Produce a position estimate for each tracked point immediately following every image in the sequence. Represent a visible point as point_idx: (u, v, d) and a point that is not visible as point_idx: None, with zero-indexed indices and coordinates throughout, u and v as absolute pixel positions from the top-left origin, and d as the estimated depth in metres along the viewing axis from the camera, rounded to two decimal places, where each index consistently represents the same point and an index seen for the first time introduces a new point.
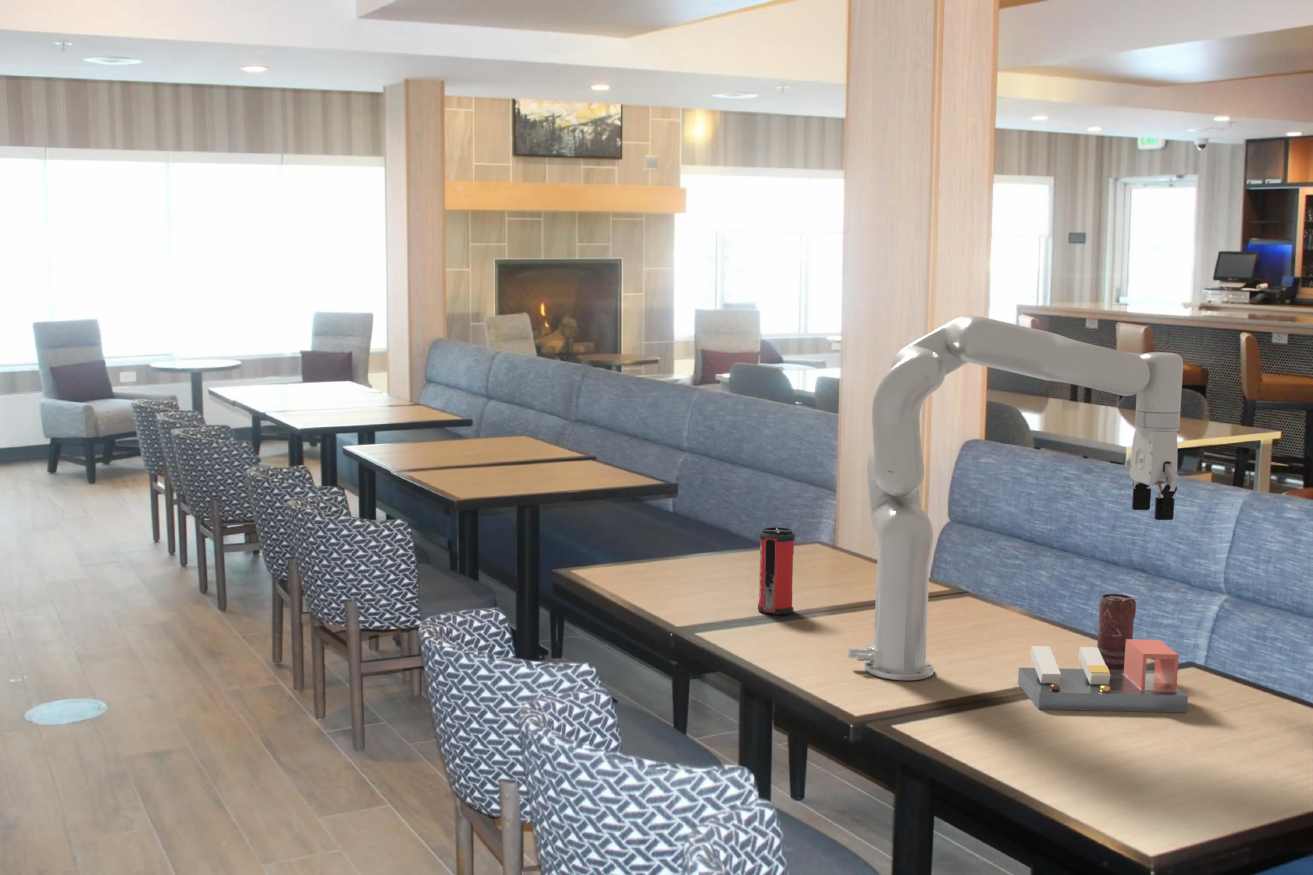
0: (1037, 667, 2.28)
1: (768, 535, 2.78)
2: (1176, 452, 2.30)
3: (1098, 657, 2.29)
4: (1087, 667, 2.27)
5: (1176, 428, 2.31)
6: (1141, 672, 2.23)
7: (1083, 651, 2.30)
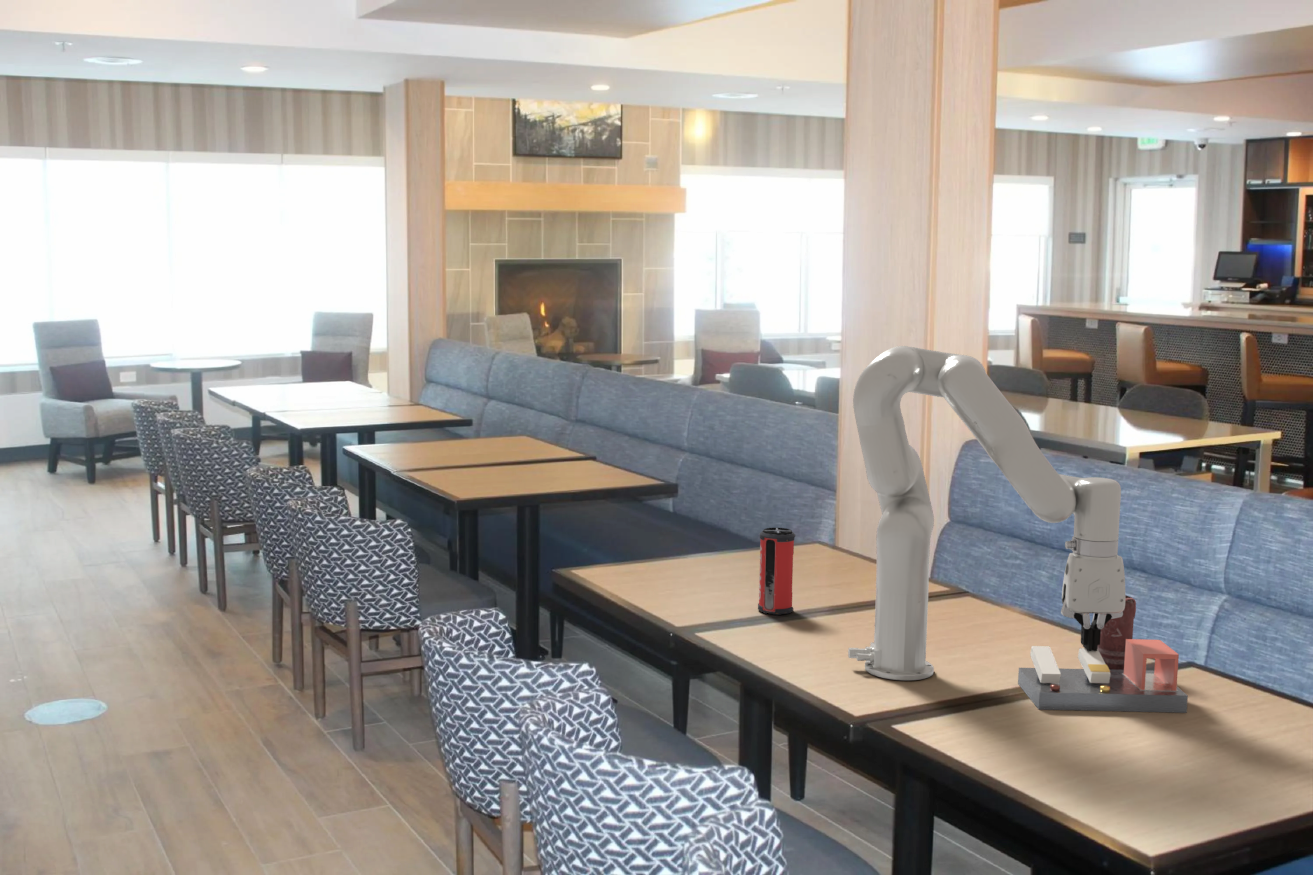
0: (1037, 667, 2.28)
1: (768, 535, 2.78)
2: None
3: (1098, 657, 2.29)
4: (1087, 666, 2.27)
5: None
6: (1141, 672, 2.23)
7: (1082, 651, 2.30)
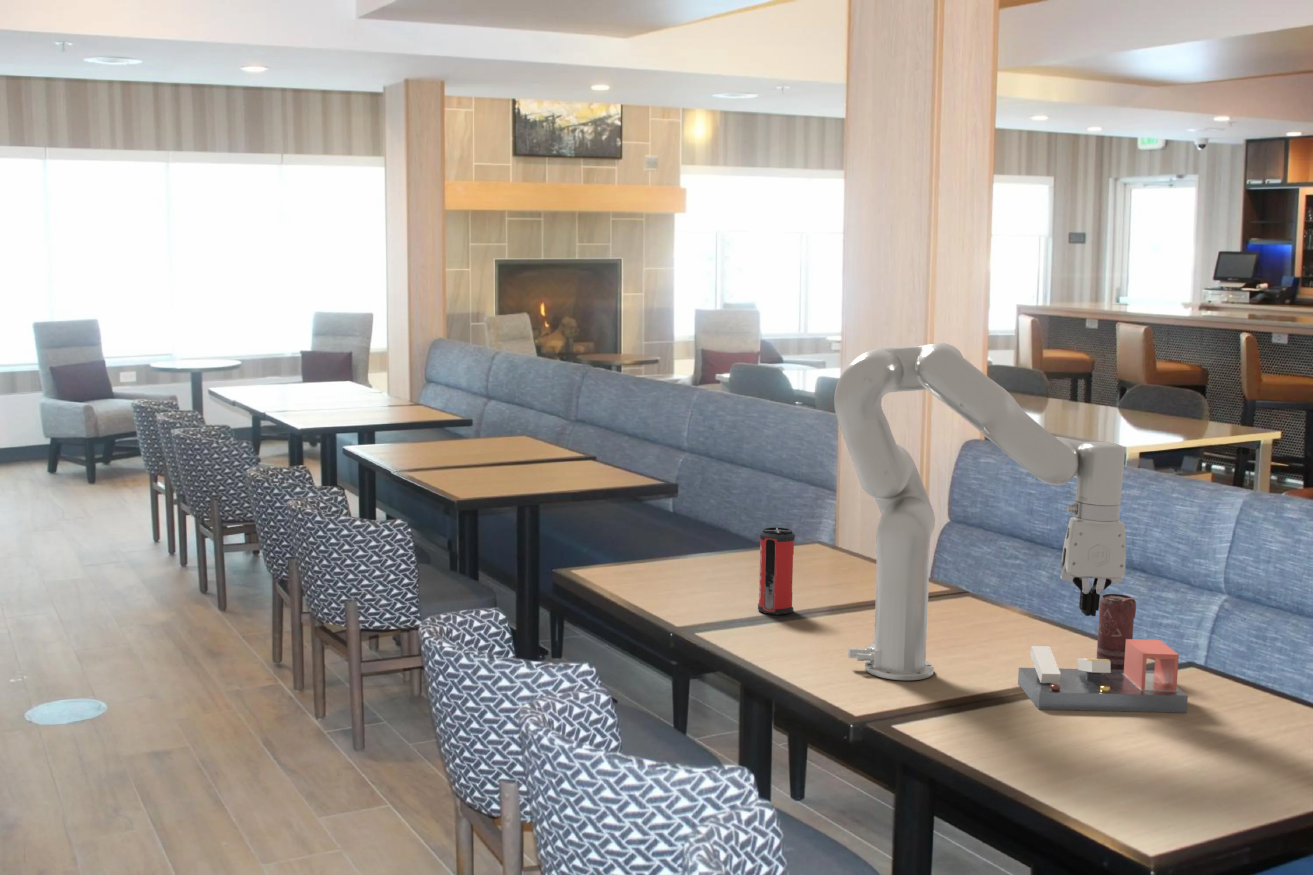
0: (1037, 667, 2.28)
1: (768, 535, 2.78)
2: None
3: None
4: (1087, 662, 2.27)
5: None
6: (1141, 672, 2.23)
7: None
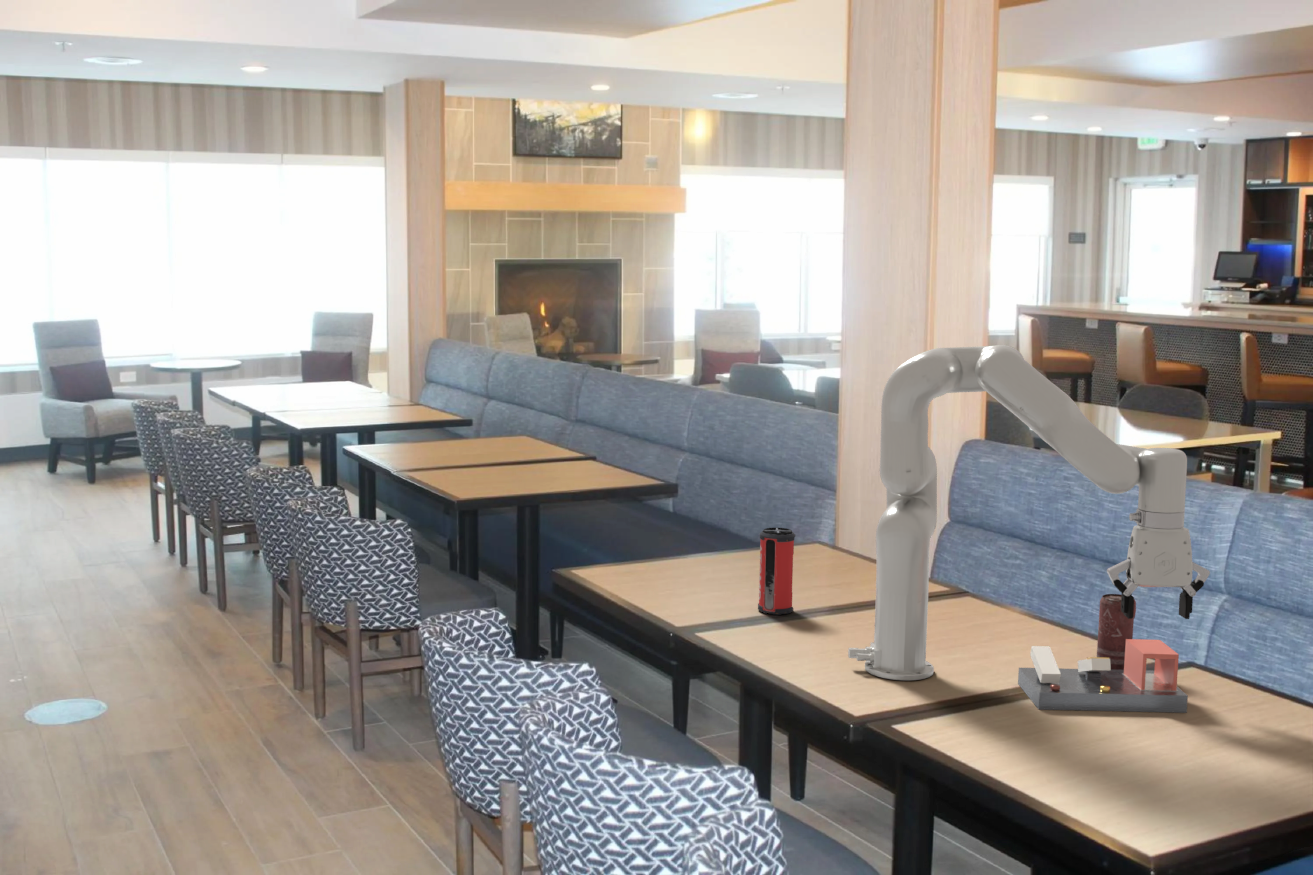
0: (1037, 667, 2.28)
1: (768, 535, 2.78)
2: None
3: None
4: (1087, 661, 2.27)
5: None
6: (1141, 672, 2.23)
7: (1081, 660, 2.31)
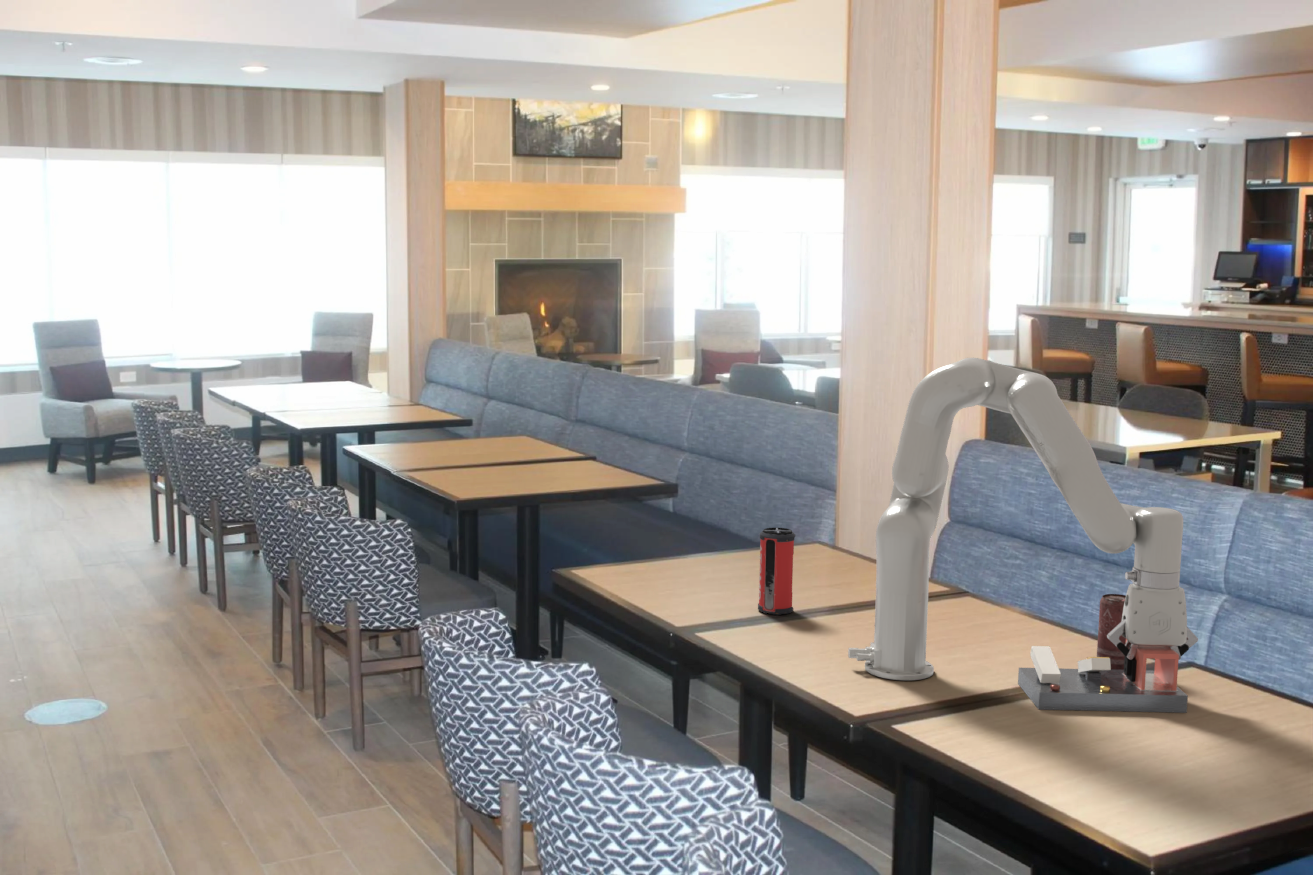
0: (1037, 667, 2.28)
1: (768, 535, 2.78)
2: None
3: None
4: (1087, 661, 2.27)
5: None
6: (1141, 672, 2.23)
7: (1081, 660, 2.31)
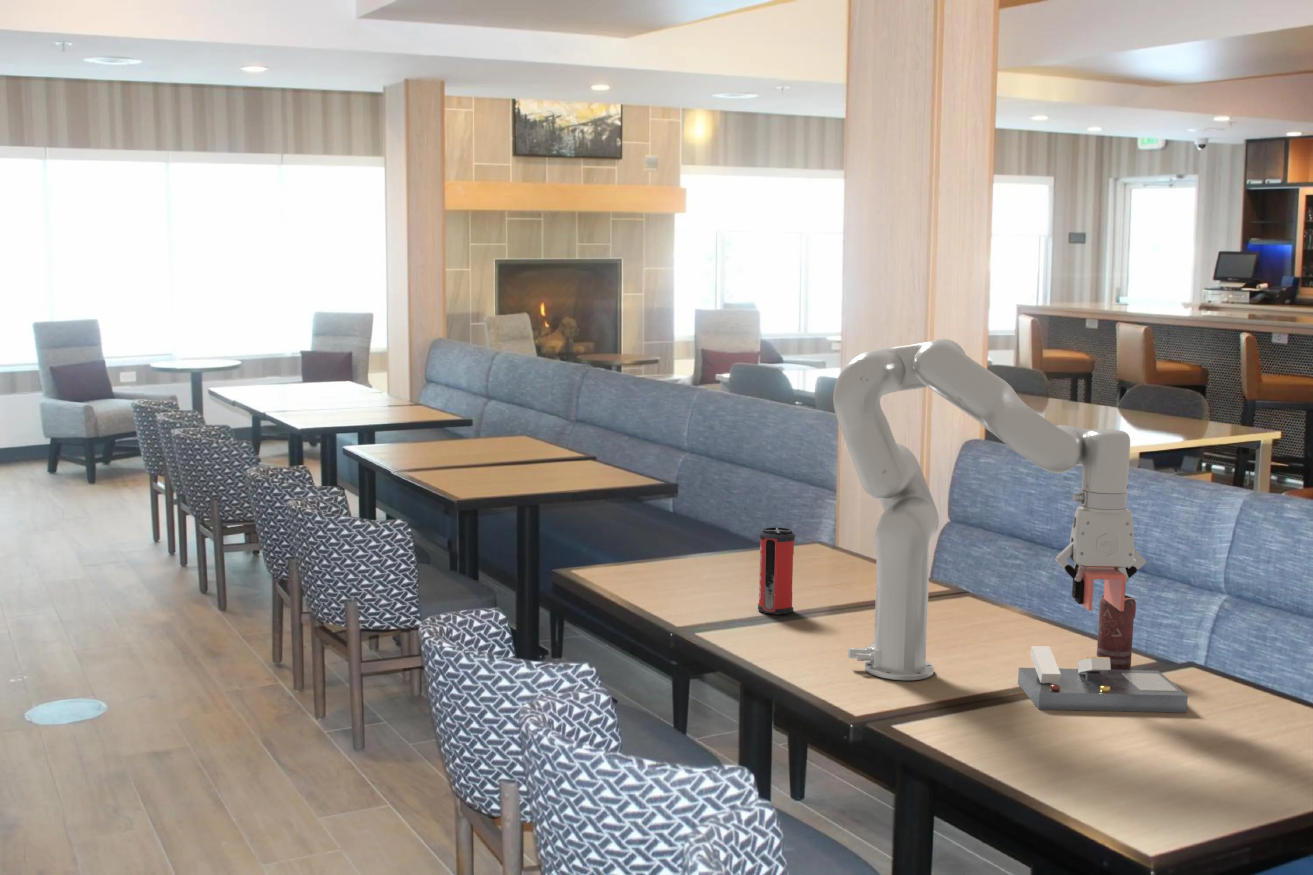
0: (1037, 667, 2.28)
1: (768, 535, 2.78)
2: None
3: None
4: (1087, 661, 2.27)
5: None
6: (1088, 593, 2.22)
7: (1081, 660, 2.31)
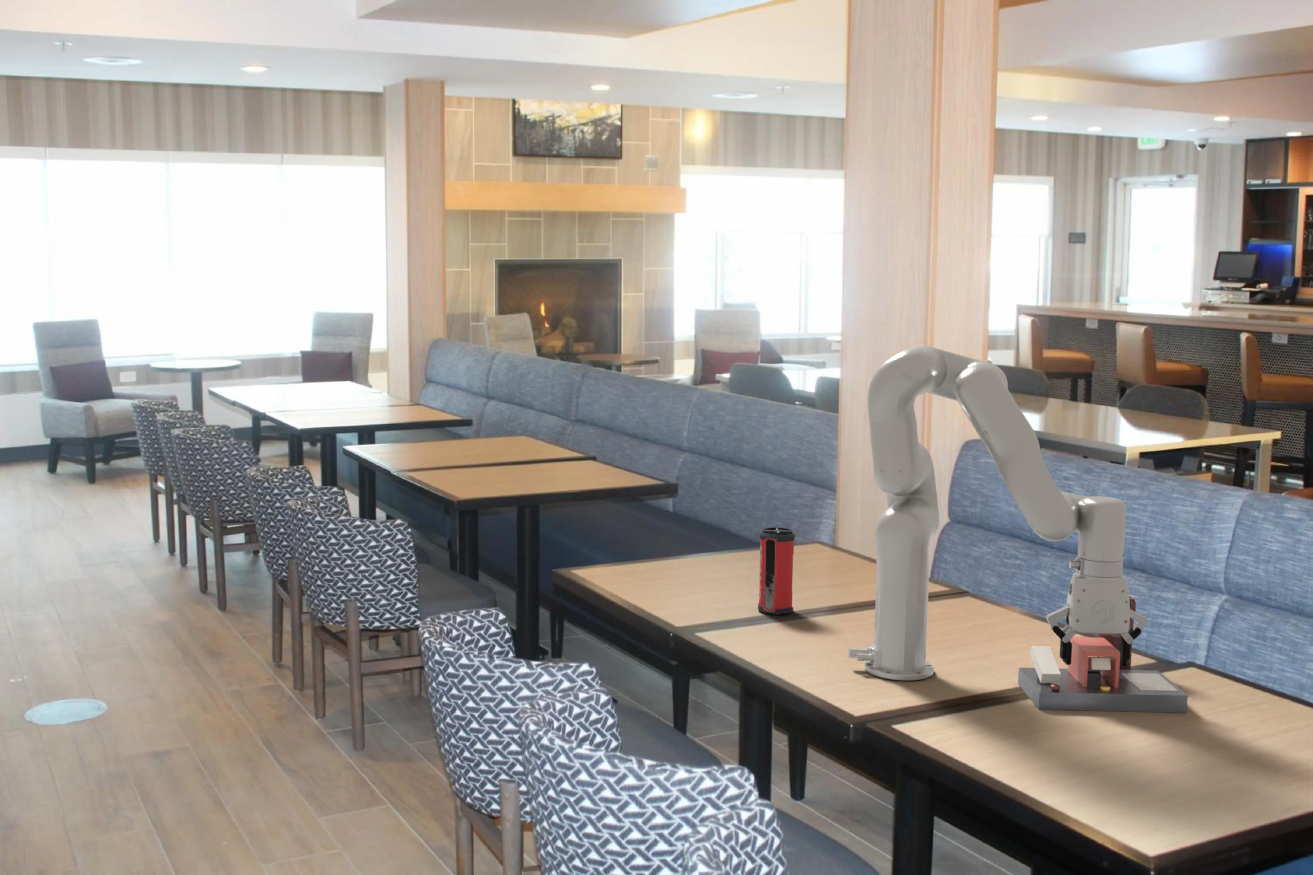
0: (1037, 667, 2.28)
1: (768, 535, 2.78)
2: None
3: None
4: None
5: None
6: (1083, 670, 2.24)
7: None
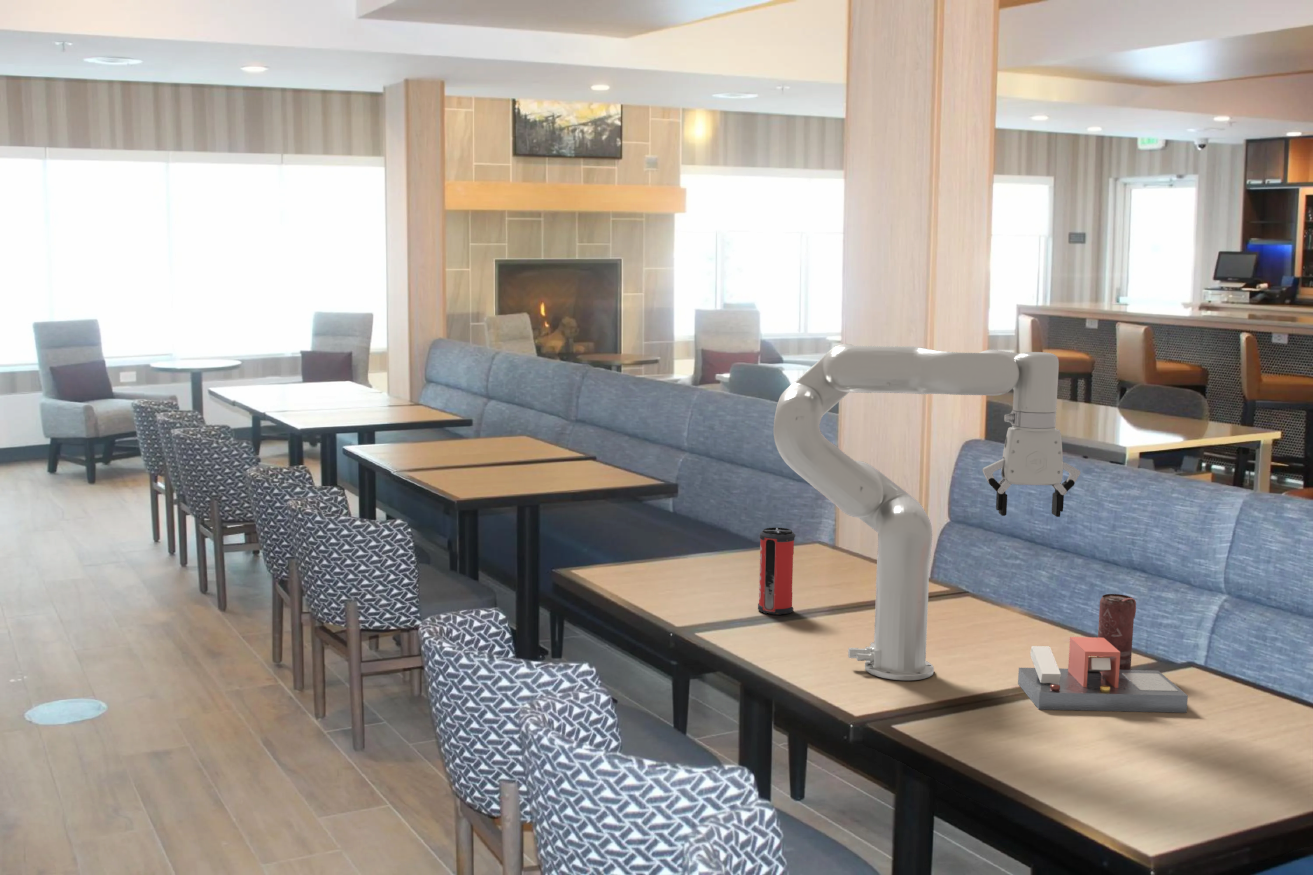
0: (1037, 667, 2.28)
1: (768, 535, 2.78)
2: None
3: None
4: None
5: None
6: (1083, 670, 2.24)
7: None
